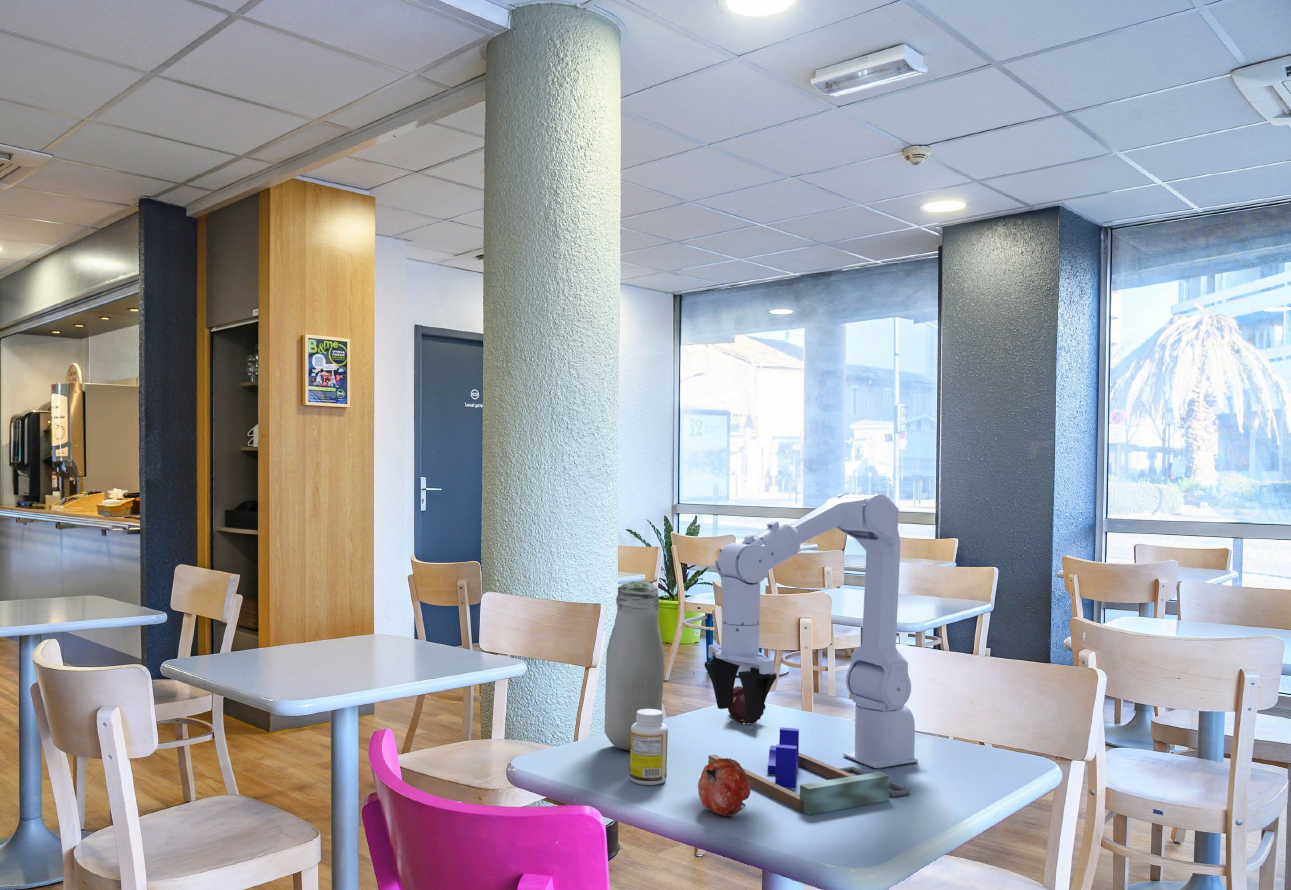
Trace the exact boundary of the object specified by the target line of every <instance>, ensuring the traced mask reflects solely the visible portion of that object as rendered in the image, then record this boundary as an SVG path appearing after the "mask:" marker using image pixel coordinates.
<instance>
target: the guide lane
mask: <svg viewBox="0 0 1291 890" xmlns="http://www.w3.org/2000/svg"><path fill="white" fill-rule="evenodd" d="M717 759H723V757H721V756H719V755H717V754H710V755H708V760H707V761H708V764H712V763H714V762H715V760H717ZM708 764H707V765H708ZM799 765H800V767H802V768H804V769H806V768H807V770H809V769H810V770H809V771H811V772H813V773H815V772H816V773H815V774H818V775H821V776H822V775H823V777H825V778H827V780H820V781H814V782H809V783H803V784H802V783H801V784H799V794H798V793H797V792H794V791H792V790H790V789H789V788H784V787H782V786H780V785H778V784H776V783H775V782H773V781H772V780H769V779H767V778H765V777H763V776H761V775H759V774H757V773H754V772H753V771H750V770H749V769H747V768H743V767H742V768H743V770H744V771H745V773H746V775H747V776H748V779H749V783H750V787H751V786H752V787H751V788H753V789H755V788H756V789H755V790H757V789H758V791H759V790H760V792H761V793H763V792H764V793H763V794H765V793H766V794H765V795H767V794H768V795H767V796H769V795H770V797H771V796H772V798H773V797H774V799H775V798H776V800H777V801H779V800H780V802H781V801H782V802H781V803H783V802H784V803H783V804H785V805H787V804H788V805H787V806H789V807H791V806H792V807H791V808H794V809H795V808H796V809H795V810H797V809H798V810H797V811H799V810H800V812H801V813H803V812H804V813H803V814H805V813H806V815H808V816H812V815H817V814H818V813H819V814H824V813H831V812H834V811H838V810H839V811H841V810H847V809H850V808H856V807H861V806H866V805H867V806H868V805H871V804H872V805H873V804H877V803H883V802H887V801H888V802H889V801H890V796H889V790H890V787H889V781H890V775H888V774H886V773H884V772H881V771H875V772H871V773H870V772H868V773H869V774H863V775H860V774H858V775H854V774H852V773H850V772H845V771H842V770H840V768H837V767H835V766H832V765H830V764H828V763H826V762H822V761H820V760H819V759H815V758H813V757H810V756H808V755H806V754H804V753H801V752H799V756H798V766H799ZM823 812H824V813H823ZM811 814H812V815H811Z"/></svg>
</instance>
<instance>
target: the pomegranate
mask: <svg viewBox="0 0 1291 890" xmlns="http://www.w3.org/2000/svg"><path fill="white" fill-rule="evenodd" d="M722 758H723V757H722ZM697 792H698V796H699V800H700V801H701V802H702V804H703V806H704V807H705V808H706V809H707V810H709V811H711V812H714V813H715V814H718V815H721V816H724V817H732V816H734V815H736V814H737V813H739V812H740V811H741V810H742V808H743V807H744V806H745V807H746V805H747V804H746V803H744V802H743V801H747V800H748V799H749V797H750V794H751V786H750V783H749V779H748V776H747V775H746V773H745V771H744V770H743V766H741V764H740V763H739V762H738V761H736V760H735V759H732V758H728V757H724V758H723V759H717V760H715V762H714V763H712V764H706V765H705V766H704V767H703V770H702V771H701V775H700V778H699V779H698V783H697Z"/></svg>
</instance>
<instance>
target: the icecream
mask: <svg viewBox="0 0 1291 890" xmlns="http://www.w3.org/2000/svg"><path fill="white" fill-rule="evenodd" d="M765 710H766V704H765V703H764V707H763V711H762V714H761V717H762V716H763V715H764V711H765ZM727 711H728V713H729V716H730V717H731V719H732V720H734V721H736V722H737V723H738V724H740V723H742V724H743V723H754V724H755V723H757V722H758V720H751V721H749V720H747V719H746V714H745V699H744V691H743V687H742V686H739V685H737V686H734V692H733V702H732V706H731V708H727ZM742 724H741V725H742ZM743 725H744V724H743Z"/></svg>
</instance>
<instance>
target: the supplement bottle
mask: <svg viewBox="0 0 1291 890" xmlns="http://www.w3.org/2000/svg"><path fill="white" fill-rule="evenodd" d="M663 715H664V714H663V710H662V711H660V710H656V709H640V710H638V711H637V715H636V719H637V720H636V723H634V724H633V725H632V726H631V751H630V753H629V754H630V757H629V758H630V759H629V762H630V764H629V778H630V780H631V781H632V782H633V783H635V784H637V785H642V786H656V785H661V784H663V783H665V782H666V780H667V776H668V775H667V774H668V739H669V738H668V737H669V736H668V735H669V734H668V733H669V731H668V726H667V725H666V724H665V723H663V720H664V718H663Z"/></svg>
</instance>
